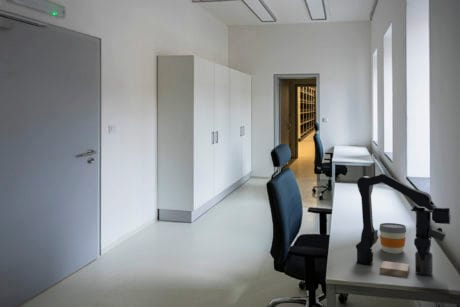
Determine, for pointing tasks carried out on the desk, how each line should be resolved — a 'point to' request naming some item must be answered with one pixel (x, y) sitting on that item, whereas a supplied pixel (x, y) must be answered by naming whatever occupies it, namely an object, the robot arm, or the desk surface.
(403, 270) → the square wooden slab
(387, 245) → the reusable coffee cup
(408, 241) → the desk surface
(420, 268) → the supplement bottle
